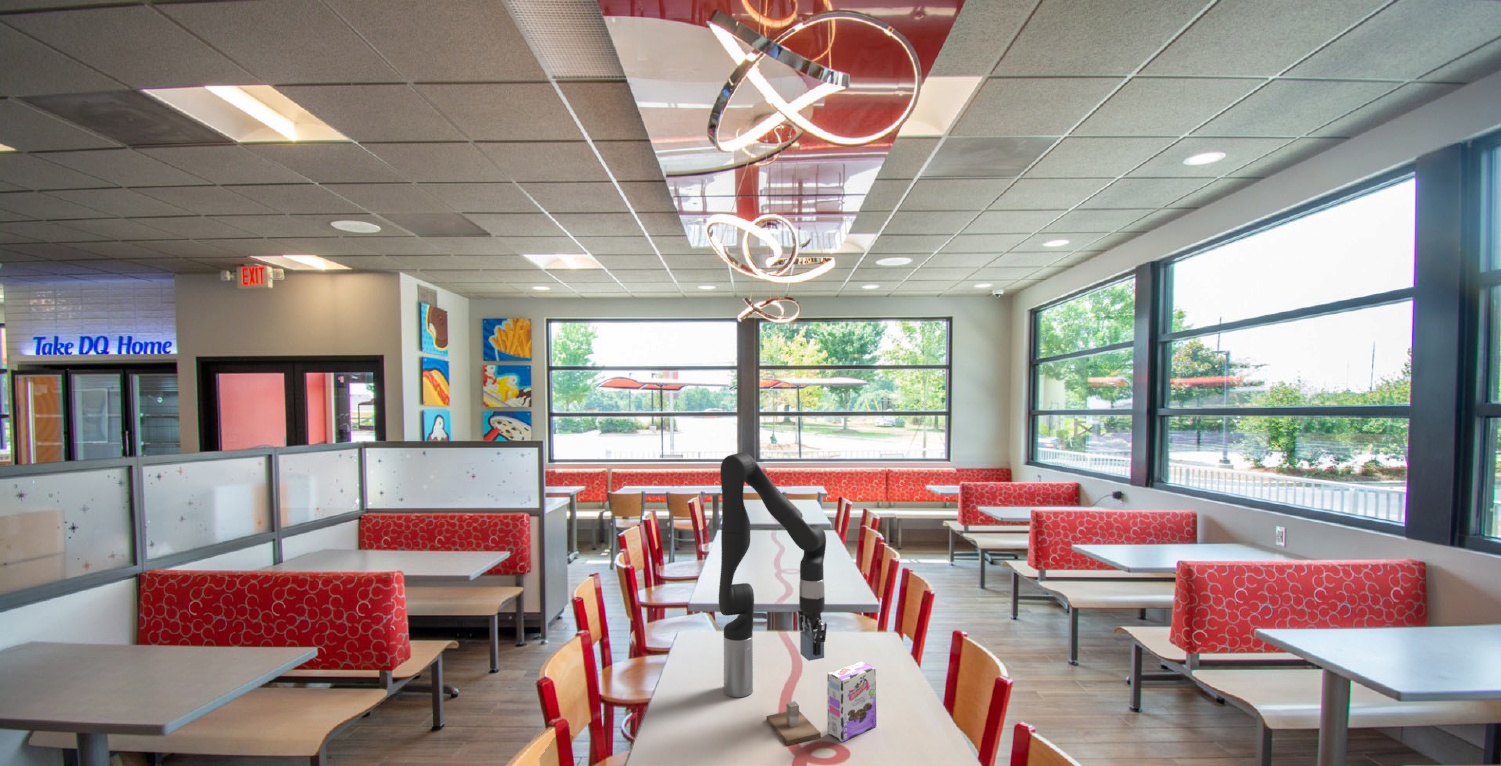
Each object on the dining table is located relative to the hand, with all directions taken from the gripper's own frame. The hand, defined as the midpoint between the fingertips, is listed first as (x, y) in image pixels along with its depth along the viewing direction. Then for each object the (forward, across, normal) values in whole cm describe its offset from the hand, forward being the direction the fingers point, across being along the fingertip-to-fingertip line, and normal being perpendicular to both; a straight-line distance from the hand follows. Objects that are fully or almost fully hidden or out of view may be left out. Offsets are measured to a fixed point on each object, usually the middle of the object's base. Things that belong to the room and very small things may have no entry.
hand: (812, 650), depth 177 cm
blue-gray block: (+1, 0, 0) cm, 1 cm away
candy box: (+17, +14, +5) cm, 23 cm away
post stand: (+17, +7, -10) cm, 21 cm away
